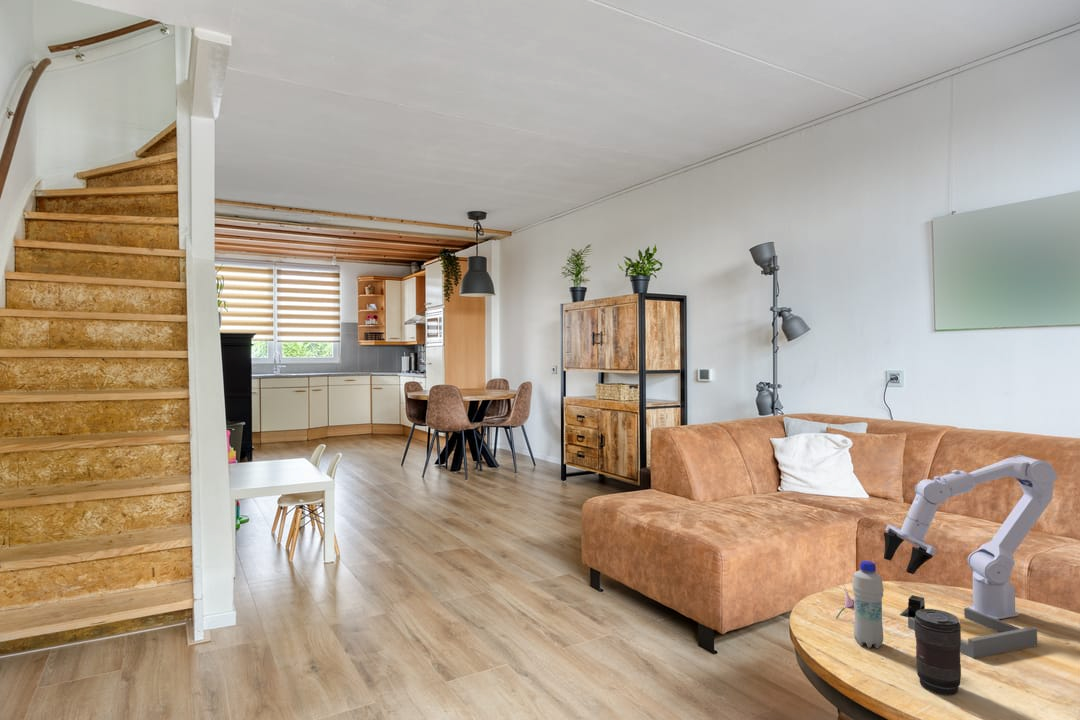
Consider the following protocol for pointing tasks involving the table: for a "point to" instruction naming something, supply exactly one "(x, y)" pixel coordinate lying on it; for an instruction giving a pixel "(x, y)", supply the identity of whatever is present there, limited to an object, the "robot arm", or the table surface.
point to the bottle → (868, 605)
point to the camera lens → (938, 651)
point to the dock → (993, 636)
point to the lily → (847, 602)
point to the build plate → (913, 606)
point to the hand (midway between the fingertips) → (898, 566)
